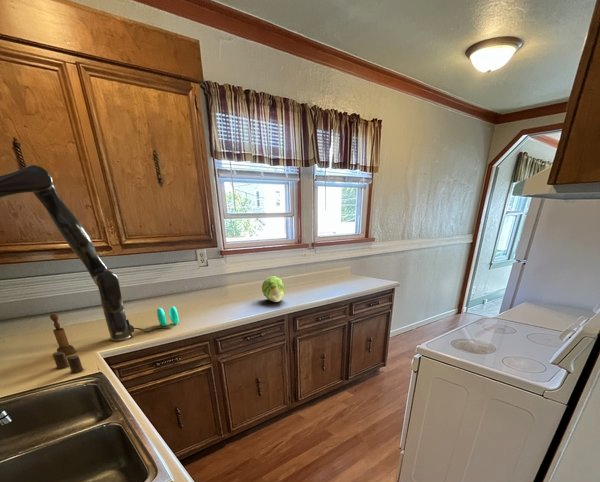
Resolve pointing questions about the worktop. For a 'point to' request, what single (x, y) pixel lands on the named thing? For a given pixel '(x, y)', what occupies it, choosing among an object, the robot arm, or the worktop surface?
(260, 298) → the worktop surface
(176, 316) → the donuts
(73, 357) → the far peg
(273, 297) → the lettuce
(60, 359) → the middle peg
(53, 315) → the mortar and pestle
